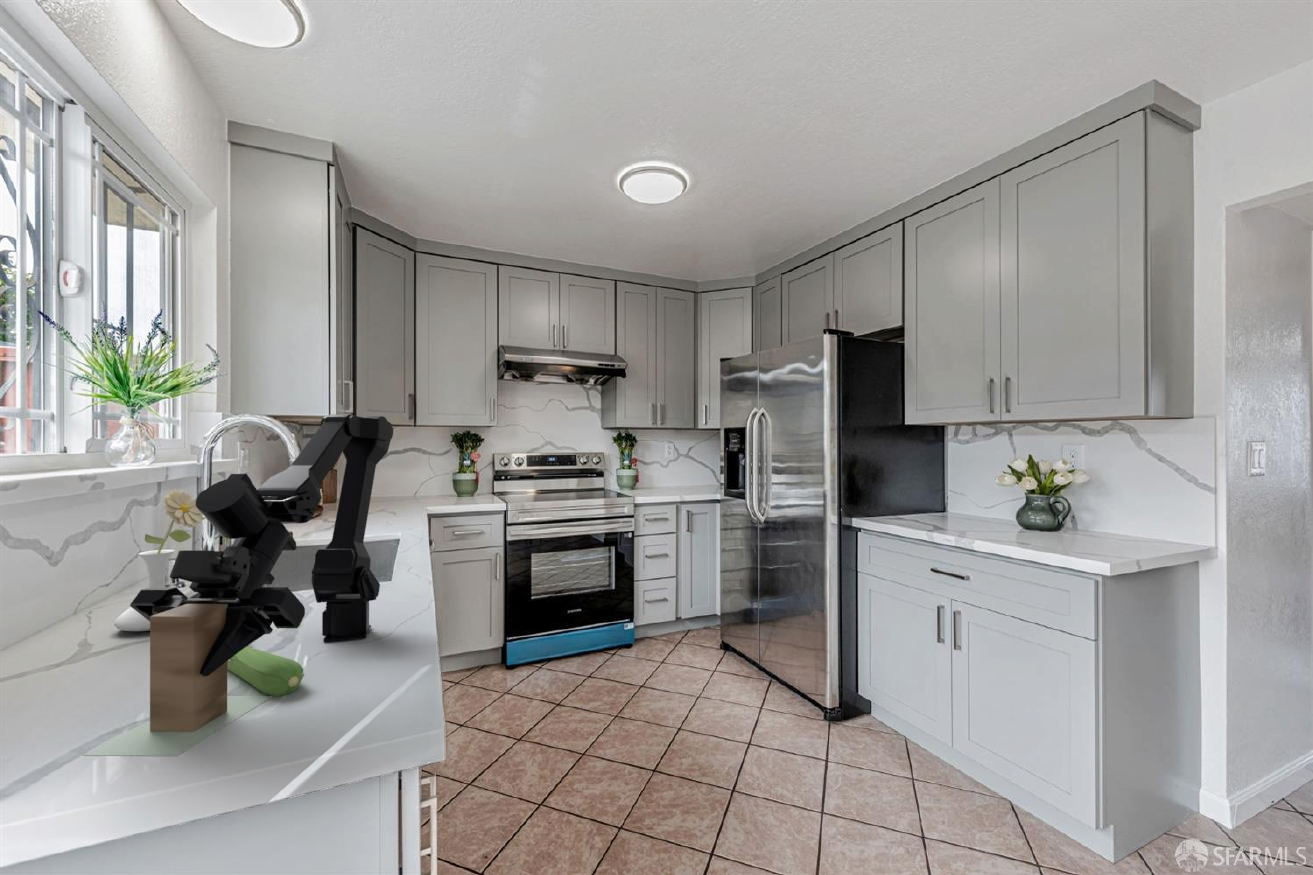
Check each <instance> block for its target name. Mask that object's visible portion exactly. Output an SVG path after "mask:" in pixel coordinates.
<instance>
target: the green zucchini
mask: <svg viewBox="0 0 1313 875" xmlns="http://www.w3.org/2000/svg"><path fill="white" fill-rule="evenodd" d="M227 671H229V672H230V673H232V674H234V675H236V676H238V677H239V678H241V679H242V680H244V681H245V682H247V683H249V684H250V685H251V686H253V687H254V689H255V688H256V689H257V690H259V692H261V693H263V694H265V695H268V696H273V697H274V696H275V697H279V696H283V695H284V696H285V695H287V694H290V693H294V691H296V690H297V688H298V687H299V686H300V684H301V682H302V680H303V678H304V676H305V673H304V668H303V667H302V665H301V664H300V663H299V662H298V661H296V660H293V659H291V658H289V657H288V658H287V657H284V656H280V655H277V654H273V653H270V652H266V651H264V650H259V649H256V648H253V647H250V646H248V647H245V648H244V649H242V650H241V651H240V652H238V653H237V654H236V655H234V656H233V657H232V658H230V659H229V660H228V661H227Z"/></svg>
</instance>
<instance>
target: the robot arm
mask: <svg viewBox="0 0 1313 875" xmlns="http://www.w3.org/2000/svg"><path fill="white" fill-rule="evenodd" d="M393 437H394V428H393V424H392V423H391V422H389V421H388V419H387V418H386V416H383V415H372V416H371V415H370V416H369V415H367V416H362V415H358V416H357V415H353V414H349V413H348V414H346V413H344V414H337V413H335V414H328V415H324V416H323V417H322V418H321V421H320V426H319V427H318V429H317V430H316V431H315V433H314V434H313V435H312V437H311V438H310V439H309V441H308V442H307V443H306V445H305V446H304V447H303V449H302V450H301V451H300V452H299V454H298V455H297V457H296V458H295V459H294V461H293V462H292V463H291V464H290V466H288V467H287V469H285V470H282V471H281V472H279V473H277V474H274V475H272V476H269V478H268V479H267V480H266V481H265V482H264V483H262V484H261V485H260V486H259V487H258V488H256V487H255V485H254V483H253V481H252V479H251V478H250V476H249V475H248V474H247V473H246V472H245V473H230V475H228V477H227V479H223V480H220V481H218V482H215V483H214V484H211V485H210V486H208V487H207V488H206V489H204V490H202V491H201V492H199V494H198V496H197V497H196V498H195V499H196V507H197V508H198V510H199V511H200V512H201V513H202V514H201V515H203V517H205V518H206V520H208V522H209V523H210V524H211V525H212V526H213V527H214V529H215V530H217V532H218V533H219V534H220V535H221V536H222V537H223V538H226V539H229V540H230V539H231V540H234V539H235V540H234V541H233V543H232V544H231V545H230V546H226V547H225V549H223V551H222V550H210V549H209V550H208V549H206V550H201V549H200V550H199V549H198V550H197V549H195V550H194V549H192V550H191V549H190V550H189V549H188V550H185V549H183V550H181V549H180V550H178V552H177V554H176V555H177V556H176V558H175V561H174V563H173V566H172V568H171V571H170V574H169V579H172V580H177V579H180V580H183V581H186V582H190V584H189V586H188V589H189V588H190V590H191V591H193V592H194V593H198V594H199V596H198V598H197V597H196V598H194V597H193V598H191V597H187V595H186V594H184V592H182V591H181V590H180V589H179V588H178V587H175V586H171V587H170V586H169V587H166V586H165V587H150V588H148V587H146V588H143V589H141V590H140V591H139V592H138V593H137V595H136V596H135V597H134V599H132V601H131V603H130V604H129V606H130V607H132V608H133V609H135V610H136V611H137V612H138V613H140V614H141V615H142V616H143V617H145V618H146V619H147V620H149V621H150V616H153V615H156V614H159V613H162V612H165V611H168V610H171V609H173V608H176V607H179V606H182V605H185V604H228V607H227V609H226V619H225V625H224V628H223V629H222V631H221V633H220V635H219V636H218V638H217V640H216V642H215V643H214V645H213V647H212V649H211V650H210V652H209V654H208V656H207V657H206V659H205V661H204V664H203V666H202V668H201V670H200V674H202V675H203V676H209V675H210V674H211V673H213V672H214V671H215V670H216V669H218V668H219V667H220V666H222V665H223V664H224V663H225V662H227V661H230V660H229V659H230V658H232V657H233V656H234V655H236V654H237V653H238V652H240V651H241V650H242V649H244V648H245V647H247V646H248V647H249V646H250V645H251V644H252V643H254V642H255V641H257V640H258V639H260V638H261V637H263V636H264V635H270V634H272V633H273V630H274V629H273V627H272V624H273V625H274V627H275V628H276V629H298V628H299V627H300V626H301V623H302V622H303V619H304V618H305V615H306V607H305V606H304V604H303V603H302V602H301V601H300V600H299V598H298V597H297V596H296V595H295V594H294V593H293V592H292V590H291V589H290V588H289V587H288V586H286V587H285V586H282V587H281V586H280V587H279V586H276V587H275V586H272V587H270V586H264V585H272V584H273V582H274V580H275V576H274V575H273V574H272V570H273V569H274V567H275V566H276V563H277V561H278V559H279V558H280V556H281V555H282V552H283V551H295V550H297V541H296V540H295V538H294V532H293V531H289V530H288V529H287V528H286V526H285V525H284V524H306V523H308V522H310V520H311V519H312V518H313V517H314V515H315V513H316V511H317V508H318V506H319V505H320V502H321V500H322V492H321V488H320V487H321V485H322V484H323V481H324V480H325V479H326V477H327V475H328V474H329V473H330V471H331V469H332V468H333V466H334V465H335V464H336V462H337V461H338V459H339V458H340V456H342V455H341V454H343V456H344V458H345V461H346V462H345V467H344V472H343V478H342V483H341V487H340V488H341V489H340V494H339V499H338V503H337V504H338V505H337V510H336V515H335V520H334V521H335V522H334V525H333V526H334V527H333V532H332V538H331V541H330V542H329V543H328V544H327V546H325V548H319V549H318V550H317V551H316V552H315V554H314V555H315V556H314V564H313V568H312V570H311V584H312V588H313V589H312V590H313V593H314V597H315V600H316V603H318V604H320V603H325V609H324V610H323V611H322V612H321V613H322V614H321V615H322V616H321V617H322V620H321V621H322V622H321V623H322V624H321V626H322V627H321V628H322V633H321V635H322V637H324V638H323V639H322V641H323V643H327V642H328V643H329V642H331V643H332V642H337V641H340V642H341V641H349V640H358V639H365V638H367V636H368V635H369V634H370V633H369V632H370V631H371V629H372V625H371V624H370V602H371V601H375V600H377V597H378V596H379V594H380V587H381V584H380V582H379V581H378V579H377V578H376V576H375V574H374V573H373V571H372V570H371V557H370V555H369V552H368V550H367V549H366V546H365V544H364V540H365V534H366V528H367V522H368V516H369V509H370V504H371V498H372V491H373V486H374V480H375V474H376V468H377V465H378V464H379V462H381V460H382V459H383V458H384V457H385V456H386V454H388V451H389V448H390V444H391V440H392V439H393Z"/></svg>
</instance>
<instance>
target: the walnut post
mask: <svg viewBox="0 0 1313 875" xmlns="http://www.w3.org/2000/svg"><path fill="white" fill-rule="evenodd" d="M227 607H228V604H185V605H182V606H179V607H176V608H173V609H171V610H168V611H165V612H162V613H159V614H156V615H153V616H150V630H149V631H150V632H149V637H150V638H149V645H150V646H149V721H150V731H152V732H194V731H196V730H197V729H199V728H201V727H202V726H204V725H206V724H207V723H209V722H211V721H212V720H214V719H215V718H217V717H219V716H220V715H222V714H224V713H225V712H227V696H228V670H227V662H225V663H224V664H223V665H222V666H220V667H219V668H218V669H216V670H215V671H214V672H213V673H211V674H210V675H209V676H203V675H202V674H200V670H201V668H202V666H203V664H204V661H205V659H206V657H207V656H208V654H209V652H210V650H211V649H212V647H213V645H214V643H215V642H216V640H217V638H218V636H219V635H220V633H221V631H222V629H223V628H224V625H225V619H226V609H227Z"/></svg>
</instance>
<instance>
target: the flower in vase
mask: <svg viewBox="0 0 1313 875" xmlns="http://www.w3.org/2000/svg"><path fill="white" fill-rule="evenodd" d="M196 499H197V498H192V495H190V493H188V492H186V491H184V490H181V491H180V492H179V491H178V490H176V489H174V490H173V491H171V492H169V495H168V494H166V495H165V496H164V499H163V502H164V505H163V506H164V508H165V509H166V511H165V513H166V515H167V516H169V517H170V519H171V524H170V525H169V528H168V531H167V533H166V535H165V537H164V538H163V537H157V536H154V535H153V536H152V535H149V534H147V533H145V535H144V542H146V543H147V544H155V545H160V546H159V548H158V549H156V550H155V549H154V550H148V551H143V552H139V553H138V555H139V557H141V558H142V560H143V561H144V562H145V565H146V568H147V572H148V573H147V574H148V586H147V588H150V587H166V581H165V579H166V577H165V576H166V570H167V564H168V562H169V559H170V558H171V556H172V555H173V554H174V552H175V550H174V549H163V547H164V545H165V543H166V542H167V539H168V537H170V538H171V539H172V540H174V541H176V542H178V543H183V542H185V541H188V540H189V539H190V538H192V536H191V534H190V533H189V532H187V531H185V530H183V529H179V528H178V529H177V528H176V529H175V530H174V529H172V528H173V526H174V524H177V525H182V526H183V527H189V528H196V527H197V525H198V524H197V523H199V524H201V523H202V522H203V521H204V516H202V515H203V514H202V513H201V512H200V511H199V510H198V508H197V507H196ZM172 530H173V531H172ZM113 625H114V627H115V628H116V629H118V630H120V631H126V632H147V631H150V621H149V620H147V619H146V618H145V617H143V616H142V615H141V614H140V613H138V612H137V611H136V610H135V609H133V608H132V607H131V606H130V607H128V608H127V609H126V610H125V611H123V613H122V612H121V614H120V615H119V616H118V617H117V618H116V619H115V621H114V624H113Z"/></svg>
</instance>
